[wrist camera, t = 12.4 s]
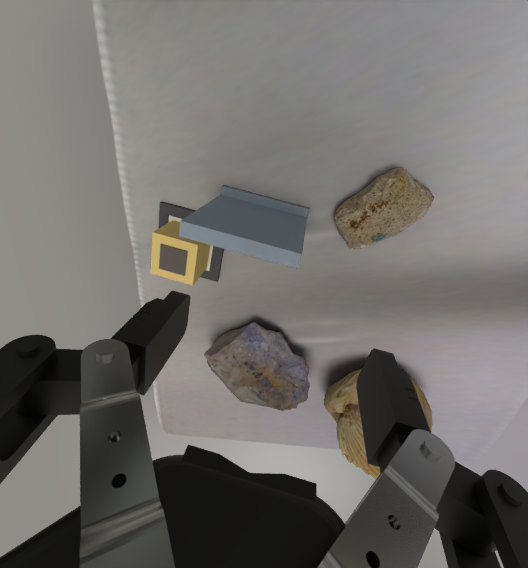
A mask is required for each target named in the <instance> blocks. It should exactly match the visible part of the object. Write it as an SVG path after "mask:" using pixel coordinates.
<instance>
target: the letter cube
mask: <svg viewBox="0 0 528 568" xmlns="http://www.w3.org/2000/svg"><path fill="white" fill-rule="evenodd" d="M179 231H180V222H179V221H175V220H172V221H171V222H169V223H167V224H166V225H164V226H162V227H161V228H159V229H157V230H156V231H154V232H153V238H152V258H151V274H155V275H158V276H162V277H165V278H169V279H172V280H175V281H179V282H182V283H186V284H189V285H193V284H194V283H195V282H196V281H197V280H198V278H199V277H200V276H201V275H202V273H203V272H204V271H205V270H206V269H207V266H208V260H209V253H210V247H211V245H209V244H205V243H201V242H198V241H194V240H191V239H187V238H183V237H180V236H179Z"/></svg>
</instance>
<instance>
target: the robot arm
mask: <svg viewBox="0 0 528 568" xmlns="http://www.w3.org/2000/svg"><path fill="white" fill-rule="evenodd" d="M189 306H190V295H187V294H183V293H180V292H176V291H171V292H170V293H169V294H168V295H167V297H166V298H165V299H164V300H162V299H158V298H157V299H154V300H152V301H150V302H148V303H146V304H145V305H144V306H143V307H142V308H141V309H140V310H139V312H137V313H136V314H135V315H134V316H133V318H131V319H130V320H129V321H128V322H127V323H126V324H125V325H124V326H123V327H122V328H121V329H120V330H119V331H118V332H117V333H116V334H115V335H114V336H113V337H112V338H111V339H104V340H99V341H96V342H94V343H92V344H90V345H88V346H87V347H86V348H85V349H84V350H70V349H56V345H55V342H54V341H53V340H52V339H51V338H49V337H47V336H43V335H30V336H24V337H21V338H18V339H15V340H13V341H11V342H9V343H8V344H6V345H5V346H4V347H2V348H1V349H0V484H1V482H2V481H3V480H4V479H5V478H6V476H7V475H8V474H9V473H10V471H11V470H12V469H13V468H14V467H15V466H16V464H17V463H18V462H19V461H20V460H21V458H22V457H23V456H24V455H25V453H26V452H27V451H28V450H29V449H30V448H31V446H32V445H33V444H34V443H35V442H36V440H37V439H38V438H39V437H40V436H41V434H42V433H43V432H44V431H45V430H46V428H47V427H48V426H49V425H50V424H51V422H52V421H53V420H54V419H55V418H56V416H57V415H67V414H68V415H70V414H80V486H81V487H80V493H81V494H80V498H81V499H80V501H81V506H79V507H78V508H76V509H75V510H73V511H71V512H70V513H68V514H67V515H65V516H64V517H62V518H61V519H59V520H58V521H56V522H54V523H53V524H51V525H50V526H48V527H47V528H45V529H44V530H42V531H41V532H39V533H37V534H36V535H34V536H33V537H31V538H30V539H28V540H27V541H25V542H23V543H22V544H20V545H19V546H17V547H16V548H14V549H12V550H11V551H9V552H8V553H6V554H5V555H3V556H2V557H0V568H417V567H418V565H419V563H420V560H421V558H422V556H423V553H424V551H425V549H426V546H427V544H428V541H429V539H430V537H431V535H432V532H433V530H434V528H435V529H437V530H438V531H439V533H440V536H441V540H442V544H443V548H444V552H445V556H446V560H447V564H448V568H501V567H500V564H499V562H498V559H497V556H496V554H495V551H496V550H497V551H498V553H499V556H500V558H501V561H502V563H503V566H504V568H528V492H527V491H526V490H525V489H524V488H523V487H522V486H521V485H520V484H519V483H518V482H516V481H515V480H514V479H512V478H511V477H510V476H508V475H506V474H504V473H502V472H500V471H496V470H488V471H487V472H485V474H483V475H482V476H480V475H478V474H476V473H474V472H473V471H471V470H469V469H467V468H466V467H464V466H462V465H460V464H459V463H457V462H456V461H455V460H454V457H453V454H452V452H451V451H450V449H449V448H448V447H447V445H446V444H445V443H444V442H443V441H442V440H441V439H440V438H438V437H437V436H436V435H434V434H432V433H431V430H430V428H429V425H428V422H427V420H426V417H425V414H424V412H423V409H422V406H421V404H420V402H419V399H418V396H417V393H415V388H414V385H413V383H412V380H411V379H410V377H409V376H408V375H407V374H406V372H405V371H404V370H403V369H401V368H398V366H397V363H396V360H395V357H394V355H393V354H392V353H389V352H385V351H382V350H378V349H373V350H372V351H371V352H370V354H369V356H368V358H367V360H366V362H365V364H364V366H363V368H362V369H361V371H360V373H359V376H358V379H357V384H356V389H357V396H358V403H359V409H360V416H361V423H362V430H363V436H364V443H365V450H366V456H367V463H368V464H371V465H374V466H378V467H379V468H380V475H379V476H378V478H377V479H376V480H375V482H374V483H373V485H372V486H371V487H370V489H369V490H368V492H367V493H366V495H365V496H364V497H363V499H362V500H361V502H360V503H359V504H358V506H357V507H356V509H355V510H354V511H353V513H352V514H351V516H350V517H349V518H348V520H347V521H346V523H345V524H344V522H343V521H342V519H341V518H340V517H339V516H338V515H337V513H336V512H335V511H334V510H333V509H332V508H331V507H330V506H329V505H328V504H327V503H325V502H324V501H323V500H322V499H320V498H319V497H317V496H316V483H312V482H309V481H306V480H302V479H299V478H296V477H293V476H289V475H286V474H260V473H249V472H247V471H245V470H244V469H242V468H241V467H239V466H237V465H236V464H234V463H233V462H231V461H229V460H228V459H226V458H225V457H223V456H221V455H220V454H217V453H214V452H211V451H207V450H204V449H201V448H197V447H194V446H191V445H188V446H187V449H186V451H185V453H184V455H173V456H167V457H162V458H159V459H156V460H154V461H152V457H151V452H150V447H149V441H148V437H147V431H146V425H145V421H144V415H143V410H142V405H141V399H140V395H139V394H141V395H145V393H146V392H147V390H148V389H149V387H150V386H151V384H152V383H153V381H154V380H155V378H156V377H157V375H158V374H159V372H160V371H161V369H162V368H163V366H164V365H165V363H166V362H167V360H168V359H169V357H170V356H171V354H172V353H173V351H174V350H175V348H176V347H177V345H178V344H179V342H180V341H181V339H182V337H183V336H184V333H185V331H186V327H187V322H188V314H189Z"/></svg>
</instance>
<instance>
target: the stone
mask: <svg viewBox="0 0 528 568" xmlns="http://www.w3.org/2000/svg"><path fill="white" fill-rule="evenodd" d="M204 356H205V357H206V358H207V362H208V365H209V367H210V368H211V370H212V371H213V372H214V373H215V374H216V375H217V376H218V377H219V378H220V379H221V380H222V381H223V383H224V384H225V385H226V386H227V388H228V389H229V390H230V391H231V392H232V393H233V394H234V395H235V396H236V397H237V398H238V399H239V400H240V401H241V402H245V403H251V404H257V405H261V406H266V407H271V408H275V409H278V410H282V411H283V410H290V409H292V408H296V407H297V405H298V404H299V403H300V402H304V401H306V400H307V398H308V390H309V387H310V384H309V381H308V379H307V375H308V373H309V367H308V365H307V364H306V362H305V359H304V358H303V357H301V356H299V355H295V354H293V353H292V351H291V349H290V347H289V345H288V343H287V341H286V340H285V339H284V337H283V334H282V333H281V332H275V331H270V330H267V329H265V328H263V327H261V326H260V325H258V324H256V323H255V322H252V323H250V324H249V325H247V326H244V327H243V328H239V329H237V330H232V331H228V332H226V333H224V334H222V335H221V336H220V337H219V338H218V339H217V340H216V342H215V344H214V345H213V346H212V347H211V348H210V349H209V350H208V351H206V352H205V354H204Z"/></svg>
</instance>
